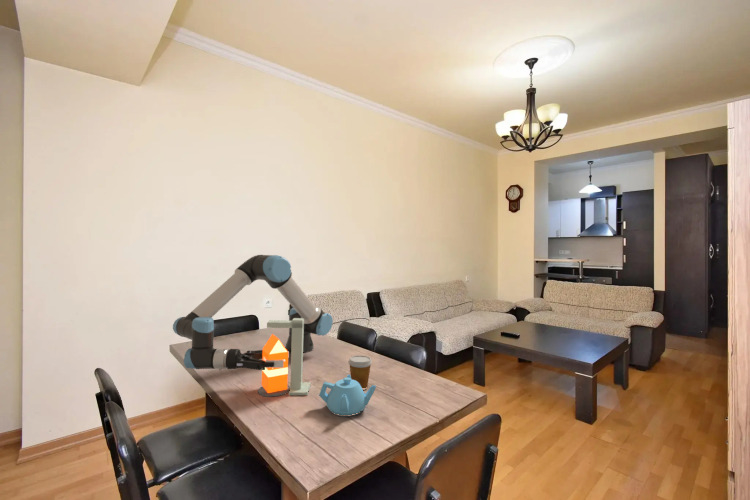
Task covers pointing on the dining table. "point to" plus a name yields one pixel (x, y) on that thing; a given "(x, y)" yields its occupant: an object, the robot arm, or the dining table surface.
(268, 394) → the seat pad
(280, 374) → the orange juice
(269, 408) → the dining table surface
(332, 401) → the teapot
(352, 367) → the disposable coffee cup
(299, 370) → the stand
